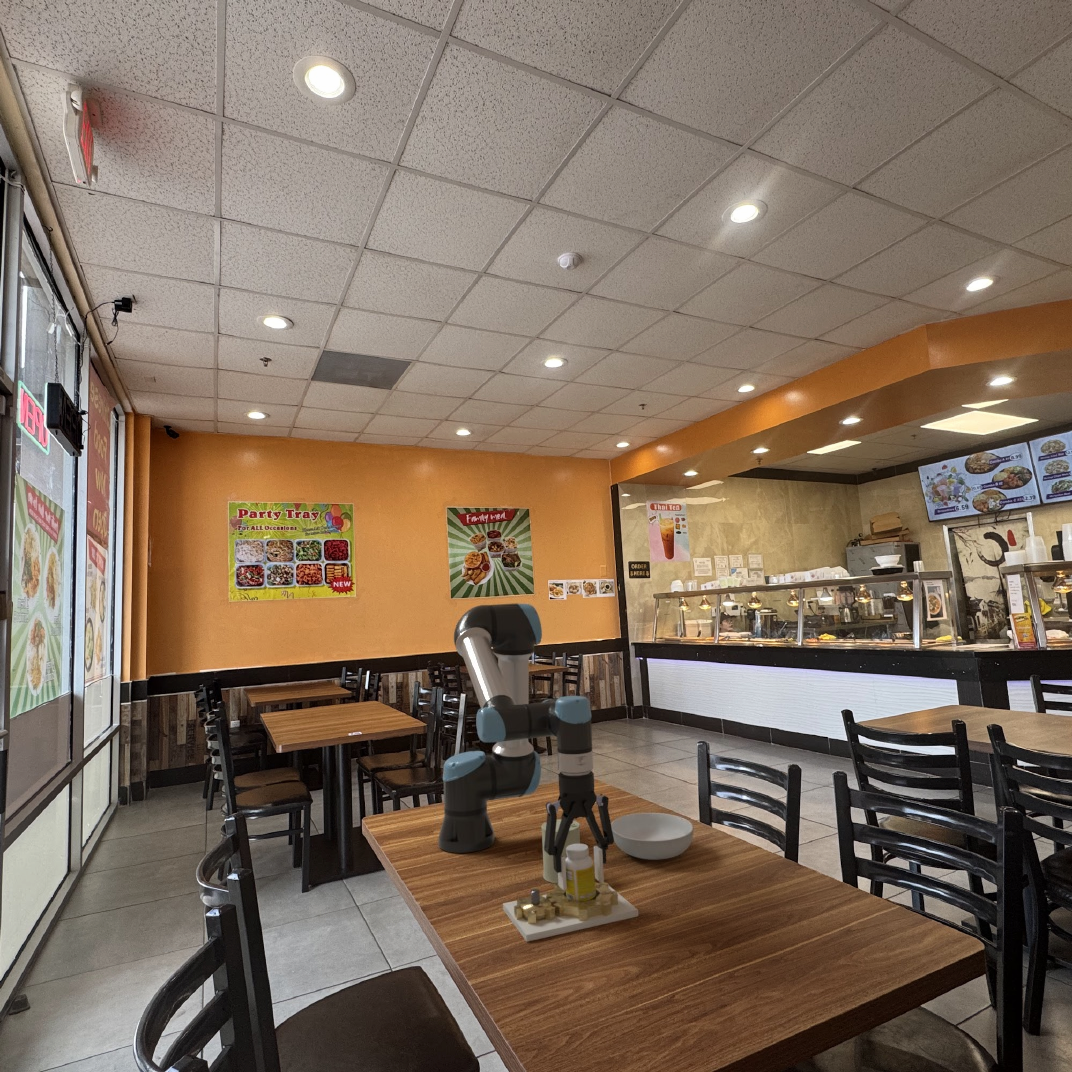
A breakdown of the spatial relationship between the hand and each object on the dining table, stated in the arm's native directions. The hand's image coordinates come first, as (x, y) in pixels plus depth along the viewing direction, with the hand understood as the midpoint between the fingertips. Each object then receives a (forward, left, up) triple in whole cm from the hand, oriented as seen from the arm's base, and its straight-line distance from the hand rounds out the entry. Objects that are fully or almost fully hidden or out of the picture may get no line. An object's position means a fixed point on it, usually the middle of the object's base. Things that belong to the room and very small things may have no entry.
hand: (581, 883), depth 138 cm
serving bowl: (-21, +29, -5) cm, 36 cm away
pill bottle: (0, 0, -4) cm, 4 cm away
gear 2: (0, 0, -4) cm, 4 cm away
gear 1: (0, -10, -4) cm, 11 cm away
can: (-18, +3, -5) cm, 19 cm away
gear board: (0, -3, -5) cm, 6 cm away
